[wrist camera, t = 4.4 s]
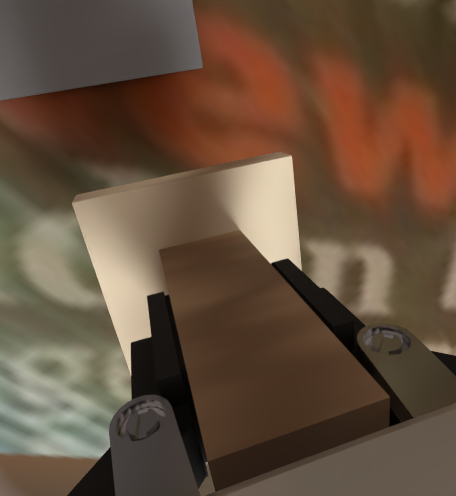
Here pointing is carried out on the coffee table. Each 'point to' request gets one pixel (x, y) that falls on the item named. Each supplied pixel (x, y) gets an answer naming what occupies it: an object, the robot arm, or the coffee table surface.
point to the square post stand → (231, 311)
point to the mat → (92, 43)
